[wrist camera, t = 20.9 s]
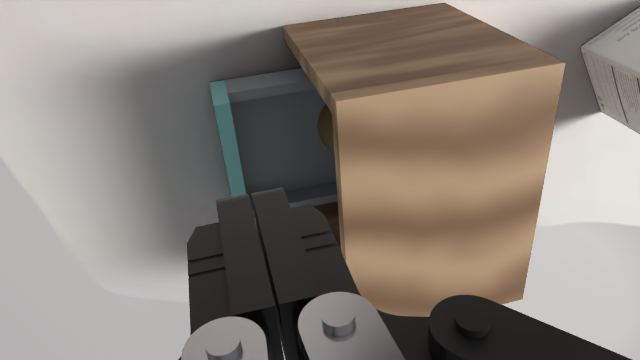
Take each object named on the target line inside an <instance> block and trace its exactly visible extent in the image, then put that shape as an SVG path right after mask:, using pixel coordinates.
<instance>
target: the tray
mask: <svg viewBox="0 0 640 360" xmlns="http://www.w3.org/2000/svg"><path fill="white" fill-rule="evenodd" d="M209 83H210V89H211V95H212V100H213V106H214V111H215V116H216V121H217V126H218V131H219V136H220V141H221V146H222V151H223V156H224V161H225V166H226V172H227V177H228V182H229V187H230V192H231V197H235V196H240V195H245V194H249V198H250V202H251V206H252V211H253V215H254V218H255V214H254V208H253V203H252V196H251V193H255V192H260V191H265V190H271V189H276V188H281V187H283V188H284V191H285V194H286V197H287V199H288V202H289V205H290V208H293V207H298V206H303V205H308V204H311V205H312V206H316V205H321V204H326V203H331V202H336V201H338V198H337V183H336V168H335V155H334V154H333V153H332V152H331V151H330V150H329V149H328V148H327V147H326V146H325V145H324V144H323V143H322V141H321V139H320V137H319V135H318V128H317V123H318V118H319V114H320V112H321V111H322V109H323V107H324V105H325V104H326V103H325V102H324V100H323V99H322V97H321V96H320V94H319V93H318V91H317V90H316V88H315V87H314V85H313V84H312V82H311V80H310V79H309V77H308V76H307V74H306V73H305V71H304V70H303V68H297V69H291V70H285V71H278V72H272V73H265V74H259V75H253V76H246V77H240V78H233V79H227V80H221V81H214V82H209Z"/></svg>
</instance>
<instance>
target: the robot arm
mask: <svg viewBox="0 0 640 360" xmlns="http://www.w3.org/2000/svg"><path fill="white" fill-rule="evenodd" d="M251 196H252V203H253V208H254V214H255V219H254V215H253V211H252V206H251V202H250V198H249V194H245V195H240V196H235V197H230V198H225V199H220V200H216V203H217V210H218V218H219V223H214V224H209V225H205V226H200V227H196V228H195V230H194V232H193V234H192V236H191V238H190V239H189V241H188V243H187V254H188V275H189V301H190V325H191V335H190V337H189V339H188V340H187V342H186V343H185V345H184V348H183V350H182V355H181V357H180V358H179V360H284V356H283V351H284V355H285V359H286V360H632V359H629V358H627V357H624V356H622V355H620V354H617V353H615V352H613V351H610V350H608V349H605V348H603V347H601V346H598V345H596V344H594V343H591V342H589V341H586V340H584V339H582V338H579V337H577V336H574V335H572V334H570V333H567V332H565V331H563V330H560V329H558V328H555V327H553V326H551V325H548V324H546V323H544V322H541V321H539V320H536V319H534V318H532V317H529V316H527V315H525V314H522V313H520V312H518V311H515V310H513V309H510V308H508V307H506V306H503V305H501V304H499V303H496V302H494V301H491V300H489V299H486V298H483V297H480V296H475V295H456V296H451V297H448V298H446V299H444V300H442V301H440V302H439V303H437V305H436V306H435V307H434V308H433V309H432V311H431V313H430V316H429V317H418V316H397V315H392V314H388V313H385V312H382V311H380V310H378V309H375V307H374V306H373V305H372V304H371V303H370V302H369V301H368V300H367V299H365V298H364V297H362V296H361V295H360V293H359V291H358V289H357V287H356V284H355V282H354V280H353V278H352V275H351V273H350V271H349V268H348V266H347V264H346V262H345V259H344V257H343V255H342V253H341V250H340V248H339V246H338V245H337V241H336V239H335V237H334V235H333V233H332V230H331V228H330V226H329V223H328V221H327V219H326V216H325V215H324V214H323V213H321V212H320V211H319V210H317V209H316V208H315V207H313V206H312V205H311V204H308V205H303V206H298V207H293V208H290V205H289V202H288V199H287V197H286V194H285V191H284V188H283V187H281V188H276V189H271V190H265V191H260V192H255V193H251ZM255 220H256V223H255ZM256 226H257V227H256ZM257 231H258V232H257ZM281 342H282V344H281ZM282 347H283V350H282Z"/></svg>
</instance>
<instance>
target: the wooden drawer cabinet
mask: <svg viewBox="0 0 640 360" xmlns="http://www.w3.org/2000/svg"><path fill="white" fill-rule="evenodd" d="M283 32H284V41H285V42H286V44H287V45H288V47H289V48H290V50H291V51H292V53H293V54H294V56H295V58H296V59H297V61H298V62H299V64H300V65H301V67H302V68H303V70H304V71H305V73H306V74H307V76H308V77H309V79H310V80H311V82H312V84H313V85H314V87H315V88H316V90H317V91H318V93H319V94H320V96H321V97H322V99H323V100H324V102H325V103H326V105H327V106H328V108H329V110H330V111H331V113H332V124H333V139H334V153H335V168H336V183H337V198H338V202H334V203H329V204H324V205H319V206H314V207H315V208H316V209H317V210H319V211H320V212H321V213H323V214H324V215H325V216H326V219H327V221H328V223H329V226H330V228H331V230H332V233H333V235H334V237H335V239H336V241H337V245H338V246H339V248H340V250H341V253H342V255H343V257H344V259H345V262H346V264H347V266H348V268H349V271H350V273H351V275H352V278H353V280H354V282H355V284H356V287H357V289H358V291H359V293H360V295H361V296H362V297H364V298H365V299H367V300H368V301H369V302H370V303H371V304H372V305H373V306H374V307H375V309H378V310H380V311H382V312H385V313H388V314H392V315H397V316H418V317H429V316H430V313H431V311H432V309H433V308H434V307H435V306H436V305H437V303H439V302H440V301H442V300H444V299H446V298H448V297H451V296H456V295H475V296H480V297H483V298H486V299H489V300H491V301H494V302H496V303H499V304H505V303H509V302H513V301H517V300H521V299H522V298H523V293H524V288H525V282H526V277H527V271H528V266H529V260H530V255H531V249H532V244H533V238H534V232H535V228H536V222H537V217H538V211H539V206H540V200H541V195H542V189H543V184H544V178H545V173H546V167H547V162H548V156H549V151H550V146H551V140H552V135H553V129H554V124H555V118H556V113H557V107H558V102H559V96H560V91H561V85H562V80H563V74H564V69H565V64H566V63H565V62H563V61H561V60H559V59H557V58H555V57H553V56H551V55H549V54H547V53H545V52H543V51H541V50H539V49H537V48H535V47H533V46H531V45H529V44H527V43H525V42H523V41H521V40H519V39H517V38H515V37H513V36H511V35H509V34H507V33H505V32H503V31H501V30H499V29H497V28H495V27H493V26H491V25H489V24H487V23H485V22H483V21H480V20H478V19H476V18H474V17H472V16H470V15H468V14H466V13H464V12H462V11H460V10H458V9H456V8H454V7H452V6H450V5H448V4H446V3H440V4H433V5H426V6H419V7H412V8H405V9H398V10H391V11H384V12H377V13H370V14H362V15H355V16H348V17H341V18H334V19H327V20H320V21H313V22H306V23H299V24H292V25H285V26H283Z"/></svg>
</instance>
